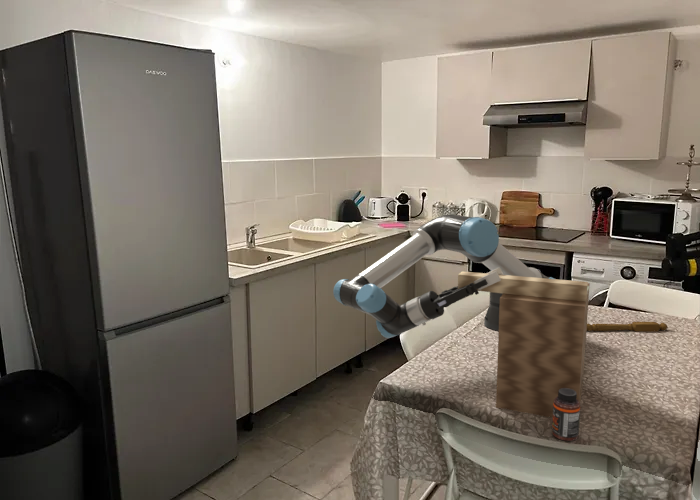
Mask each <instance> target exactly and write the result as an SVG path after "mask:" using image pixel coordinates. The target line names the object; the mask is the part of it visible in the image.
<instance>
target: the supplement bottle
mask: <svg viewBox="0 0 700 500" xmlns="http://www.w3.org/2000/svg"><path fill="white" fill-rule="evenodd" d="M576 398H577V393H576V391H574V390H572V389H569V388H561V389H559V392H558V396H557V397H556V398H555V399H554V402H553V418H552V422H551V433H552V436H554V437H555V438H556V439H559V440H561V441H565V442H567V441H568V442H569V441H570V442H572V441H575V440H577V439H578V437H579V433H580V432H579V431H580V418H581V417H580V416H581V401H580V402H579V401H578V400H577V399H576Z"/></svg>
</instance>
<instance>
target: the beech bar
mask: <svg viewBox="0 0 700 500" xmlns="http://www.w3.org/2000/svg"><path fill="white" fill-rule="evenodd" d="M487 273H488V272H486V273H485V272H484V273H483V272H472V271H462V270H461V272H459V273H458V274H457V286H458V289H459V288H462V287H464V286H466V285H468V284H470V283H474V281H475V280H478V279H480V278H482V277H484V276H486V275H488V274H487ZM499 277H500V279H501V281H499V282H497V283H494V284H492V285H490V286H488V287H485V288H483V289H481V290H479V291H478V289H477V291H478V292H484V293H485V292H487V293H490V292H494V293H504V294H514V295H524V296H535V297H545V298H555V299H565V300H575V301H586V299H587V288H588V283H589V282H588V281H581V280H570V279H569V280H567V279H556V278H554V279H546V278H534V277H522V276H510V275H499ZM474 284H475V283H474Z"/></svg>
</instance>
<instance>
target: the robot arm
mask: <svg viewBox="0 0 700 500" xmlns="http://www.w3.org/2000/svg"><path fill="white" fill-rule="evenodd" d="M444 250H446V251H451V252H457V253H460V254H462V255H463V256H465V257H466V258H467V259H469V260H470V261H471V262H473V263H474V264H475V263H476V264H477V263H478V264H482V265H484V266H485V267H486V268H488V269H489V270H490V271H489V272H488V271H487V272H486V273H487V274H488V275H486V276H484V277H482V278H480V279H478V280H475V281H474V283H475V284H474V283H470V284H468V285H466V286H464V287H462V288H459V289H458V285H457V286H454V287H451V288H449V289H445V290H444V291H441V292H440V294H437V292H435V291H433V290H429V291H427V292H425V293H423V294H421V295H420V296H417V297H414V298H412V299H409V300H408V301H406V302H404V303H402V304H399V303H398V302H396V300H394V299H393V298H392V297H391V296H390V295H389V294H388V293H386V292H385V291H384V290H383V289H382V288H384V286H386V285H387V284H389V283H390V282H391V281H392V280H394V279H395V278H397V277H398V276H399V275H401V274H403V273H404V272H405V271H406V270H408V269H409V268H410V267H412V266H413V265H415V263H417V262H419V261H420V260H421V259H422V258H424V257H426V256H431V255H434V253H436V252H438V251H444ZM499 275H510V276H522V277H534V278H546V279H555V278H554V277H552V276H546V275H544V274H543V273H542V271H540V270H538V269H537V268H535V267H531V266H530V267H529V266H527V265H526V264H525V263H524V262H522V261H521V260H520V259H518V257H516V256H515V254H513V253H512V252H510V251H509V249H507V248H506V247H505V246H504V245H503V244H502V243H500V236H499V234H498V229H497V226H496V225H495V224H494V223H493V222H492V221H490V220H489V219H487V218H484V217H479V216H466V215H458V214H453V213H451V214H450V213H449V214H448V213H447V214H442V215H439V216H437V217H434V218H433V219H431V220H428V221H427V222H425V223H423V224H422V225H420V226H419V227H418V228H416V229H415V230H413V232H412V236H411V237H409V238H408V239H406V240H405V241H403V242H402V243H400V244H399V245H398V246H396V247H395V248H393V249H392V250H390V251H389V252H388V253H387V254H385V255H383V256H382V257H381V258H380V259H378V260H376V261H375V262H374V263H372V264H371V265H369V266H368V267H367V268H365V269H364V270H362V271H361V272H360V273H358V274H356V276H354V277H353V278H352V279H350V278H348V279H347V278H343V279H340V280H338V281H337V282H336V283H335V284H334V286H333V291H332V293H333V297H334V299H335V300H336V302H338V303H340V304H341V305H343V306H346V307H349V308H352V309H354V310H357V311H359V312H362V313H364V314H367V315H368V316H371V317H372V318H373V319H375V325H376V327H377V330H378V332H380V335H381V336H383V338H385V339H390V338H394V337H396V336H400V335H402V334H404V333H406V332H407V331H411V330H412V329H414V328H417V327H419V326H421V325H422V326H426V325H427V322H429V321H432V320H435V319H437V318H439V317H441V316H443V315H444V313H445V308H447V307H449V306H452V305H453V304H455V303H457V302H459V301H461V300H463V299H466V298H467V297H470V296H472V295H474V294H475V295H479V292H480V291H479V290H481V289H483V288H485V287H488V286H490V285H492V284H494V283H497V282H499V281H501V279H500V277H499ZM477 289H478V291H477ZM502 294H503V293H494V292H489V306H488V308H487V311H486V313H485V315H484V319H483V325H484V326H485V328H488V329H490V330H492V331H497V332H499V307H500V297H501V296H502Z"/></svg>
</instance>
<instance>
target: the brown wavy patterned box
mask: <svg viewBox="0 0 700 500" xmlns="http://www.w3.org/2000/svg"><path fill="white" fill-rule="evenodd" d="M590 285H591V284H590V283H589V282H588V288H587V299H586V301H575V300H565V299H555V298H545V297H535V296H524V295H514V294H504V293H503V294H502V296H501V297H500V307H499V331H498V341H497V364H496V365H497V367H496V371H497V372H496V395H495V396H496V397H495V408H498V409H502V410H503V409H504V410H508V411H514V412H519V413H524V414H528V415H529V414H530V415H535V416H541V417H547V418H552V419H553V402H554V399H555V398H556V397H557V396H558V392H559V389H561V388H569V389H572V390H574V391H576V393H577V398H576V399H577V400H578V401H579V402H580V403H581V399H582V393H583V385H584V376H585V375H584V373H585V360H586V359H585V357H586V342H587V332H588V331H587V324H588V313H589V312H588V311H589V299H590V298H589V297H590Z"/></svg>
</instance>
